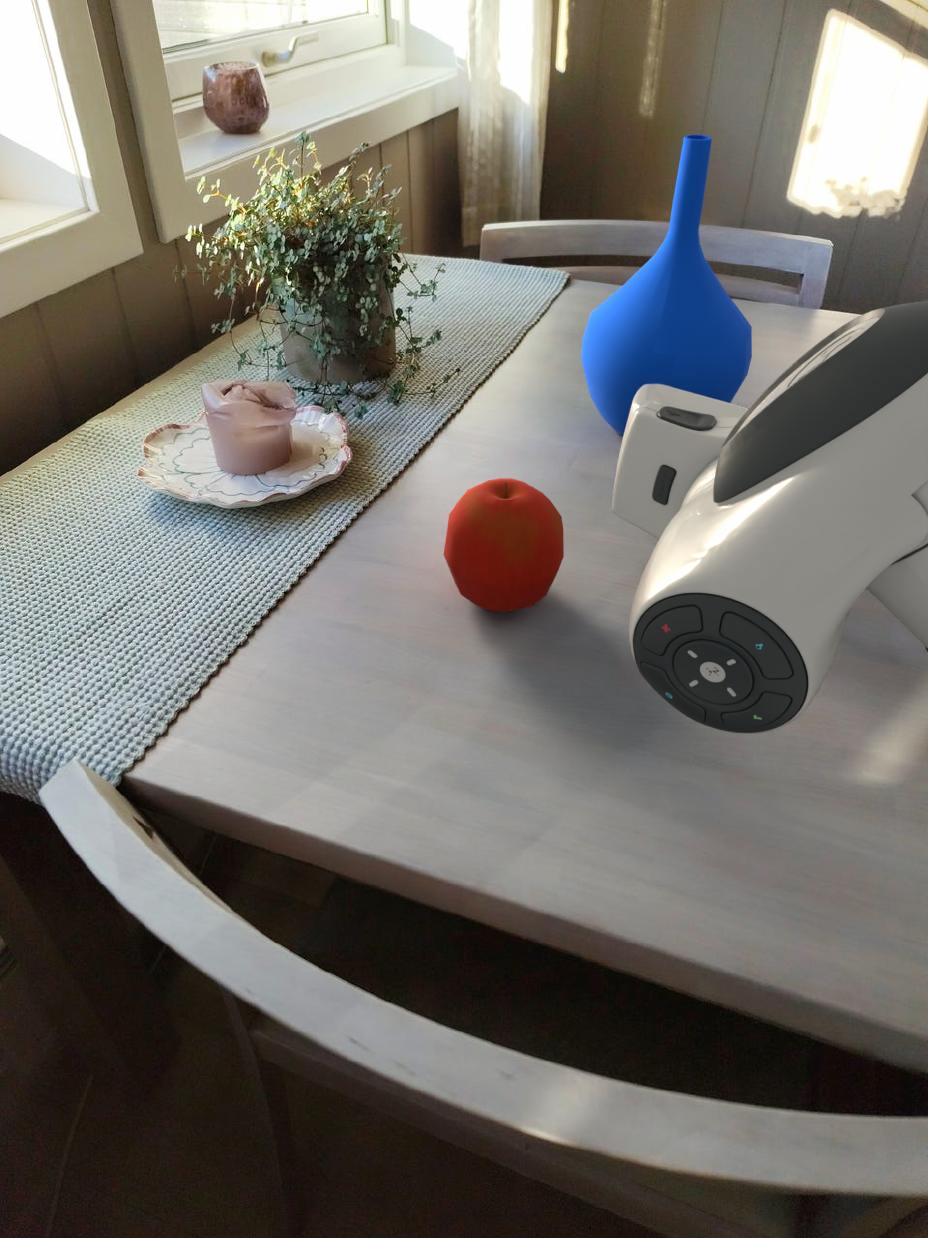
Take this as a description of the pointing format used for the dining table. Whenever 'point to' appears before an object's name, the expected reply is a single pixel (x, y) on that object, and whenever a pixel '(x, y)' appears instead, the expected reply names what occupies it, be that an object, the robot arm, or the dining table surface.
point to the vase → (669, 315)
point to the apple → (504, 545)
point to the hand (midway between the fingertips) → (808, 425)
